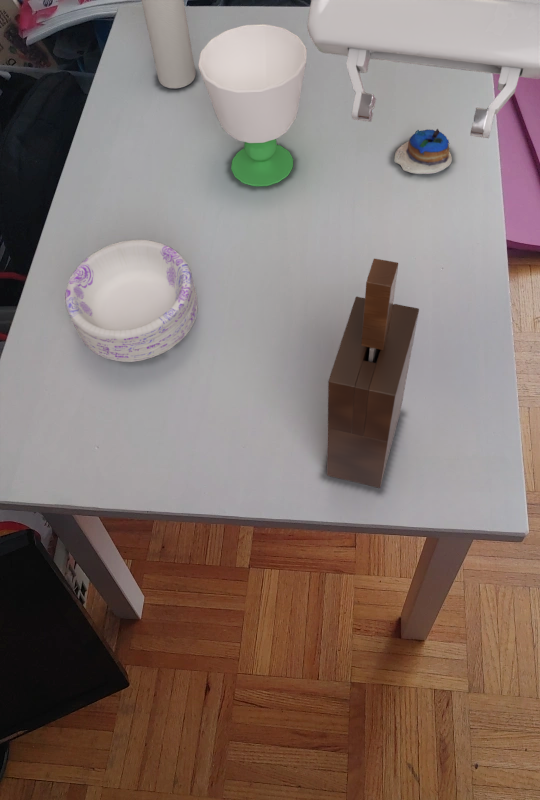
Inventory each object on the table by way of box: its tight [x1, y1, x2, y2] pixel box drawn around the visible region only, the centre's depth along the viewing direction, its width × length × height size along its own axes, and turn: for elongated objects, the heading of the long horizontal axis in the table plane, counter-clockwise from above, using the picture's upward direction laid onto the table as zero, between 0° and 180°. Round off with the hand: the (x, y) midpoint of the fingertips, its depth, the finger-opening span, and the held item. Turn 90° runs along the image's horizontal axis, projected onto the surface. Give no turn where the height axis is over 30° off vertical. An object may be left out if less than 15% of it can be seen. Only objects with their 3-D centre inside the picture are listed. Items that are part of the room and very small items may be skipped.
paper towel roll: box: [140, 0, 197, 89], centre depth 102 cm, size 7×6×21 cm
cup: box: [198, 23, 308, 187], centre depth 94 cm, size 14×14×16 cm
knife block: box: [326, 296, 420, 489], centre depth 71 cm, size 6×10×18 cm, turn 163°
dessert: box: [393, 128, 453, 175], centre depth 98 cm, size 8×7×6 cm
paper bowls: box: [64, 239, 199, 363], centre depth 85 cm, size 15×15×8 cm
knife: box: [361, 258, 399, 363], centre depth 62 cm, size 2×3×17 cm, turn 163°
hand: (419, 127), depth 55 cm, fingers open, 8 cm apart
